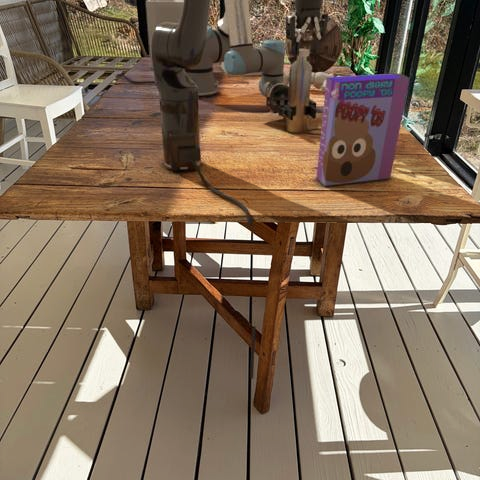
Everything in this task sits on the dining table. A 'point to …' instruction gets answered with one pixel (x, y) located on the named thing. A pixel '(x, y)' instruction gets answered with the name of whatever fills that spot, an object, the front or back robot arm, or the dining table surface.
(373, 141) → the cereal box
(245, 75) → the disc drive
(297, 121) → the bottle
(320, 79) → the toy
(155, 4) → the tall grey upright box
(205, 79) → the back robot arm
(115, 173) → the dining table surface
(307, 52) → the cap
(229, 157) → the dining table surface
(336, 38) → the sphere
